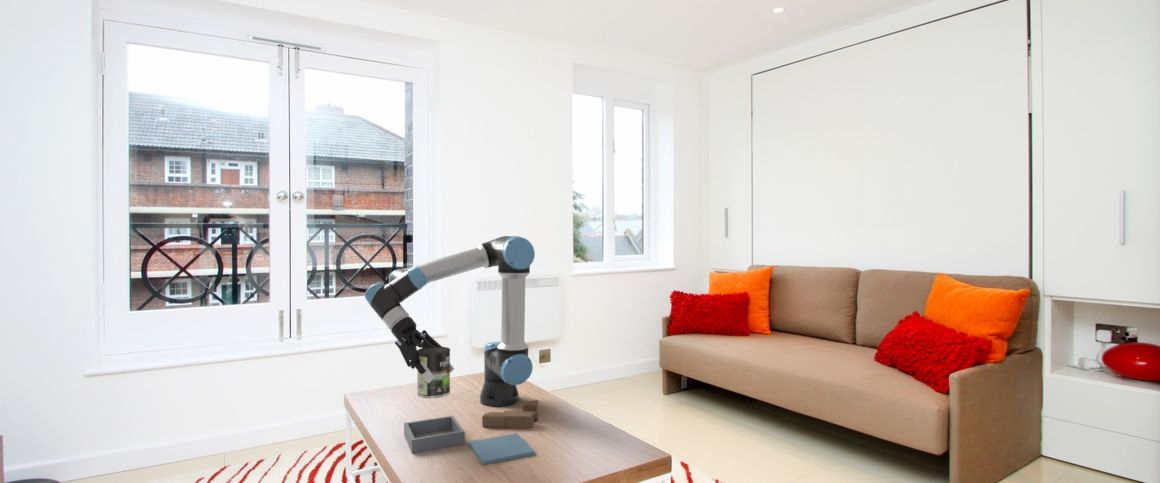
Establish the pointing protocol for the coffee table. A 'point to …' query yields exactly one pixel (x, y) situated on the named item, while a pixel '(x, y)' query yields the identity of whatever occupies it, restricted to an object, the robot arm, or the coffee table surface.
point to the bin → (436, 440)
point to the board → (500, 448)
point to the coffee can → (434, 372)
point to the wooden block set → (513, 417)
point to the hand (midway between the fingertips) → (441, 375)
